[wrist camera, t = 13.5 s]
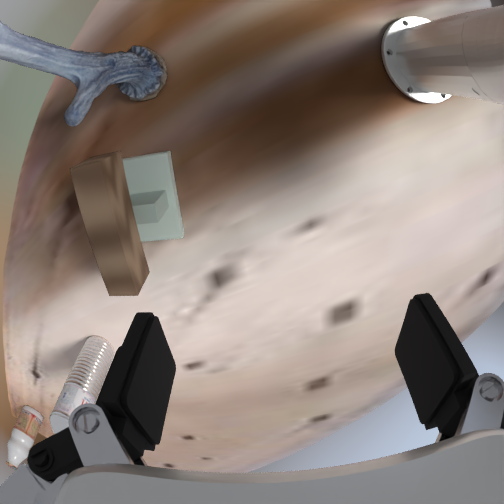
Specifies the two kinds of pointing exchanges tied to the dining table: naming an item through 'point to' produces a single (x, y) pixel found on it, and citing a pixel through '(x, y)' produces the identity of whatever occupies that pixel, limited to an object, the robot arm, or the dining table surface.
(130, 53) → the antler
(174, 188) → the block
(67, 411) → the water bottle
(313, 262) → the dining table surface
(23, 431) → the fruit juice
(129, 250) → the walnut bar
